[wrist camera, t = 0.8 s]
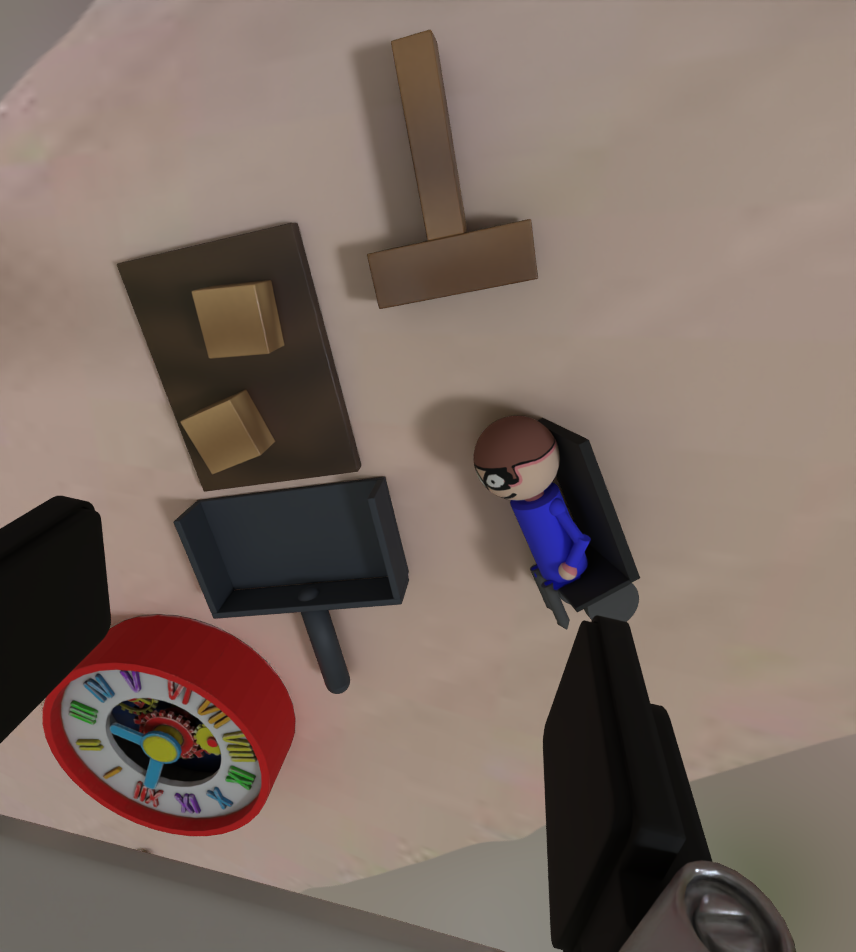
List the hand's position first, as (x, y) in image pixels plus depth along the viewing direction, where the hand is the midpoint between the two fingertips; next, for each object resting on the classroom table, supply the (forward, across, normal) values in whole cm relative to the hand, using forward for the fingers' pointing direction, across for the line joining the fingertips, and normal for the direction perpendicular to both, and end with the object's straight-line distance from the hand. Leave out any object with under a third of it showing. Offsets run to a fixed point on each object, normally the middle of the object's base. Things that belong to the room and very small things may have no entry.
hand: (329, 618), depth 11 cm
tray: (+28, +14, +5) cm, 31 cm away
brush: (+28, +3, -9) cm, 29 cm away
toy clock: (+28, +18, +38) cm, 50 cm away
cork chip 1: (+26, +14, +1) cm, 30 cm away
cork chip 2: (+26, +14, +8) cm, 31 cm away
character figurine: (+28, -8, +9) cm, 30 cm away
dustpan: (+28, +8, +21) cm, 36 cm away
